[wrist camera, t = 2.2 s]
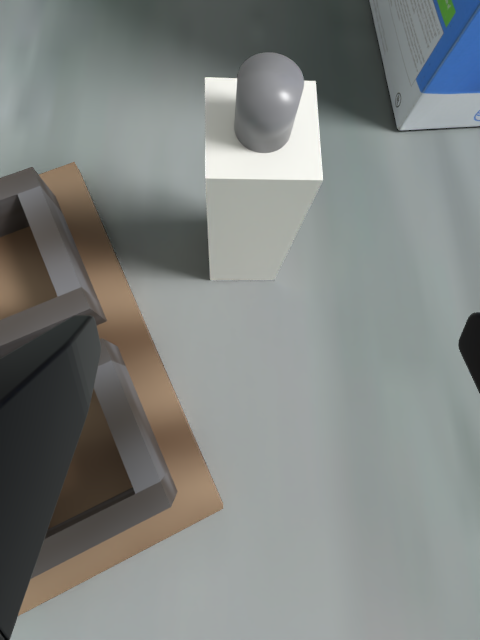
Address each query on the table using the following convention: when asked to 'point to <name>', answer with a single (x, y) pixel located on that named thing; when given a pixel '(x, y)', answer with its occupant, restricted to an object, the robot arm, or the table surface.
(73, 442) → the robot arm
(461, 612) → the table surface
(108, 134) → the table surface
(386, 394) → the table surface
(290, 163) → the plug
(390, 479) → the table surface
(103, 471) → the dock
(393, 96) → the string lights box
